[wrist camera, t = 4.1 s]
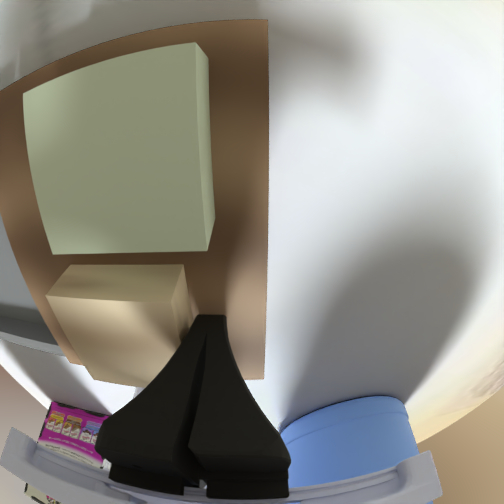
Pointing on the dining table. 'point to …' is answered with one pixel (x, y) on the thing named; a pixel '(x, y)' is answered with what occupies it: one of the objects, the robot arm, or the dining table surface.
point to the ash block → (123, 318)
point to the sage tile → (124, 154)
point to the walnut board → (224, 185)
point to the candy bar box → (69, 440)
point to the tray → (20, 306)
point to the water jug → (348, 441)
